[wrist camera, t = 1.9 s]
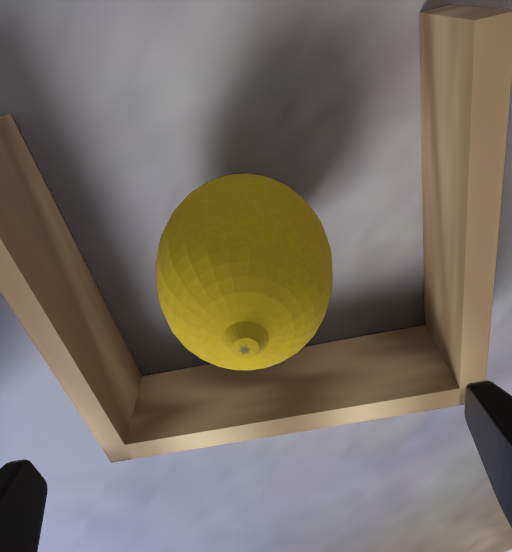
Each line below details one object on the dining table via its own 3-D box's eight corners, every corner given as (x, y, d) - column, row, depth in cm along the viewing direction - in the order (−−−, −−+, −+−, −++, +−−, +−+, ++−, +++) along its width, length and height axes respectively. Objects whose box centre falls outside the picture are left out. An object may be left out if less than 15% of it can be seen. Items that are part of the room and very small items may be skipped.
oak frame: (130, 393, 23) (111, 462, 20) (-17, 120, 16) (-88, 156, 12) (446, 336, 22) (484, 401, 18) (451, 4, 14) (517, 10, 11)
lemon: (180, 131, 16) (136, 235, 9) (330, 158, 17) (390, 273, 10) (168, 262, 19) (127, 413, 12) (295, 280, 20) (323, 433, 13)
